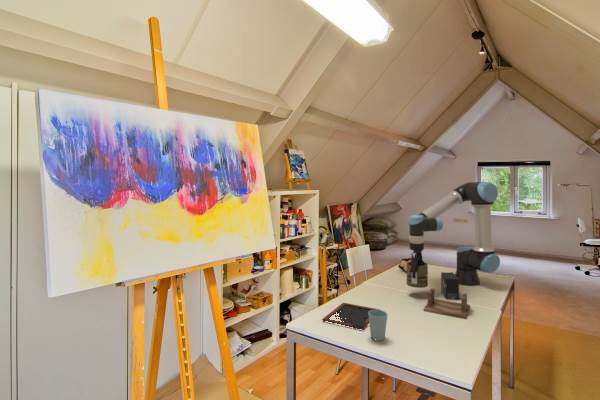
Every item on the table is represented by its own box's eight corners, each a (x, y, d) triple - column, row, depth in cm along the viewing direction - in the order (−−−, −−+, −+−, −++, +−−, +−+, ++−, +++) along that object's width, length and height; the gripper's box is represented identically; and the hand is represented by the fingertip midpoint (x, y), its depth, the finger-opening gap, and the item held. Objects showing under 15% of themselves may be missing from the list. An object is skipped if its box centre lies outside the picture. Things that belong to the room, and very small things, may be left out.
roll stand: (431, 300, 179) (431, 285, 178) (469, 307, 168) (470, 291, 168) (423, 311, 164) (423, 294, 163) (465, 319, 153) (466, 301, 153)
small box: (440, 292, 193) (440, 271, 192) (453, 292, 191) (453, 272, 191) (446, 299, 180) (446, 278, 179) (459, 300, 178) (459, 278, 178)
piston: (424, 267, 177) (403, 264, 184) (424, 288, 178) (404, 285, 184) (429, 262, 186) (409, 260, 193) (430, 283, 187) (410, 280, 193)
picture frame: (363, 332, 142) (380, 312, 163) (363, 327, 142) (380, 309, 163) (322, 322, 152) (343, 305, 173) (322, 318, 152) (343, 302, 173)
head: (393, 264, 232) (423, 267, 222) (397, 253, 241) (426, 255, 231) (396, 277, 238) (425, 280, 228) (399, 265, 247) (427, 268, 237)
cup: (385, 343, 130) (385, 318, 130) (366, 339, 133) (366, 314, 133) (389, 336, 137) (389, 311, 136) (371, 332, 140) (370, 308, 140)
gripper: (415, 238, 196) (415, 274, 197) (404, 245, 177) (404, 285, 178) (428, 239, 192) (428, 276, 193) (418, 246, 173) (418, 287, 174)
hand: (417, 280), depth 185 cm, fingers closed on piston, 11 cm apart
